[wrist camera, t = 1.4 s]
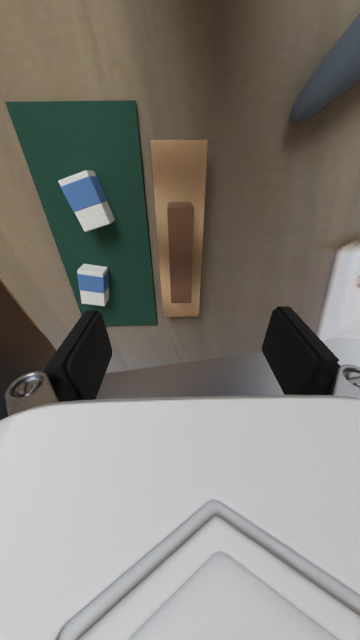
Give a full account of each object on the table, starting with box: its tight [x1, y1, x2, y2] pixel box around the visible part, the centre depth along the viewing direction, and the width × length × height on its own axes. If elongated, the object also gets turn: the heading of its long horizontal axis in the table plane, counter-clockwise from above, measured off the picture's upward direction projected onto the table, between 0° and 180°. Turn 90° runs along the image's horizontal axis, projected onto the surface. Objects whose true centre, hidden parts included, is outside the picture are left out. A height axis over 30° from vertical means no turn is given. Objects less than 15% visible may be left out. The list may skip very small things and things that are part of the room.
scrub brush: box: [150, 139, 208, 317], centre depth 24 cm, size 20×5×7 cm, turn 1°
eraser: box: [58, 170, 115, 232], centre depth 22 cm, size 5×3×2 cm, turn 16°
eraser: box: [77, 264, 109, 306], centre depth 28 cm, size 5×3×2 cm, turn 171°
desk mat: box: [6, 101, 157, 326], centre depth 26 cm, size 26×12×1 cm, turn 1°
